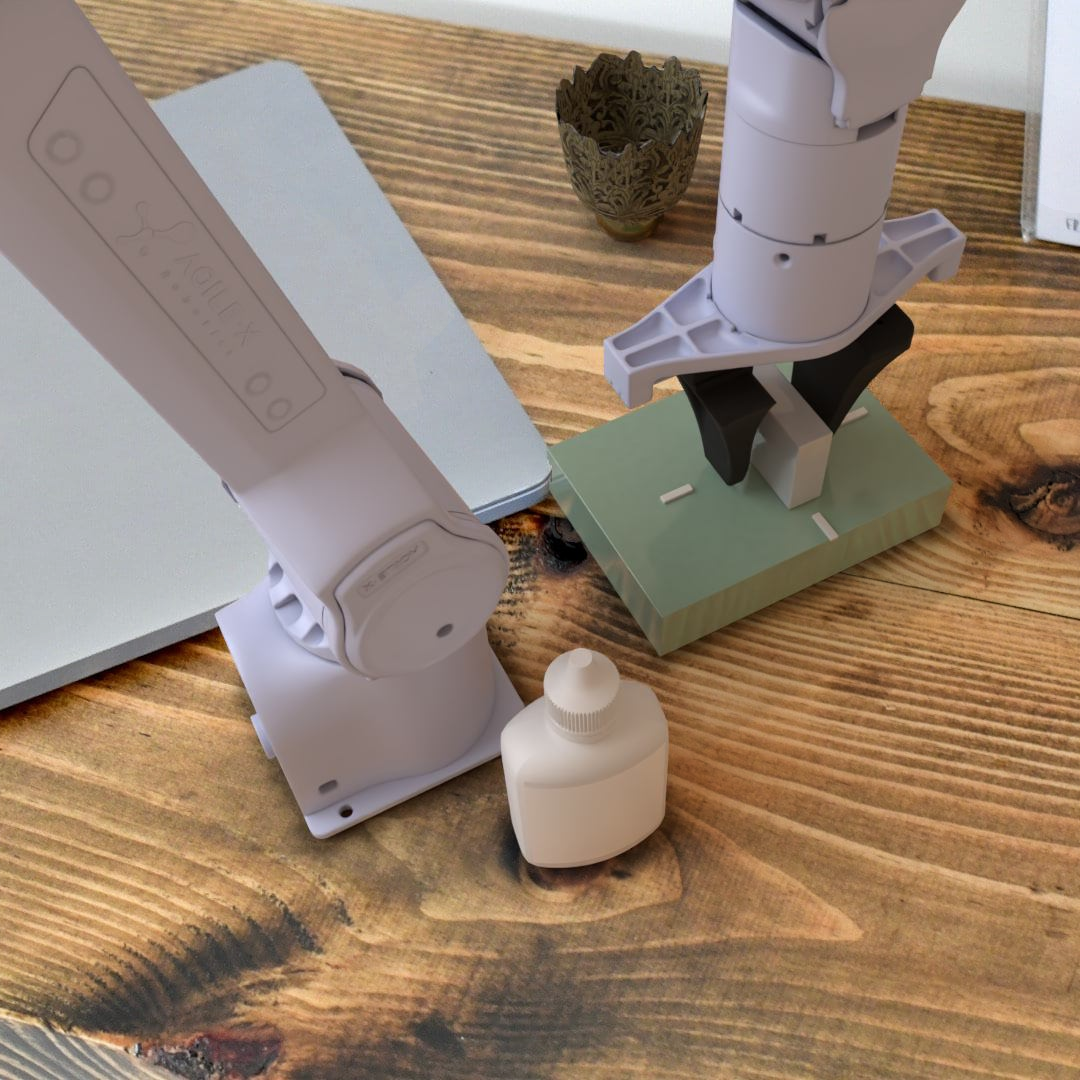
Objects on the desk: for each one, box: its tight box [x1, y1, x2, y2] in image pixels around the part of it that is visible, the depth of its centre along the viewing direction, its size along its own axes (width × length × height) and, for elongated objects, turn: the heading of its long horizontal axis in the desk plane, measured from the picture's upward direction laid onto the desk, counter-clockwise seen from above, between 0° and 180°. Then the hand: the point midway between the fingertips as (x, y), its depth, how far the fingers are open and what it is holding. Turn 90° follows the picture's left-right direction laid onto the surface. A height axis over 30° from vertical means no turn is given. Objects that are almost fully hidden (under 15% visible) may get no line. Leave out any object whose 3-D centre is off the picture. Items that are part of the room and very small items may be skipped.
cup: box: [554, 49, 709, 242], centre depth 66 cm, size 8×7×8 cm
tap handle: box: [750, 364, 833, 509], centre depth 54 cm, size 6×2×4 cm, turn 26°
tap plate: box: [545, 362, 954, 657], centre depth 57 cm, size 14×10×3 cm
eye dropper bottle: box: [501, 647, 670, 869], centre depth 45 cm, size 4×6×12 cm
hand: (766, 449), depth 55 cm, fingers open, 4 cm apart
